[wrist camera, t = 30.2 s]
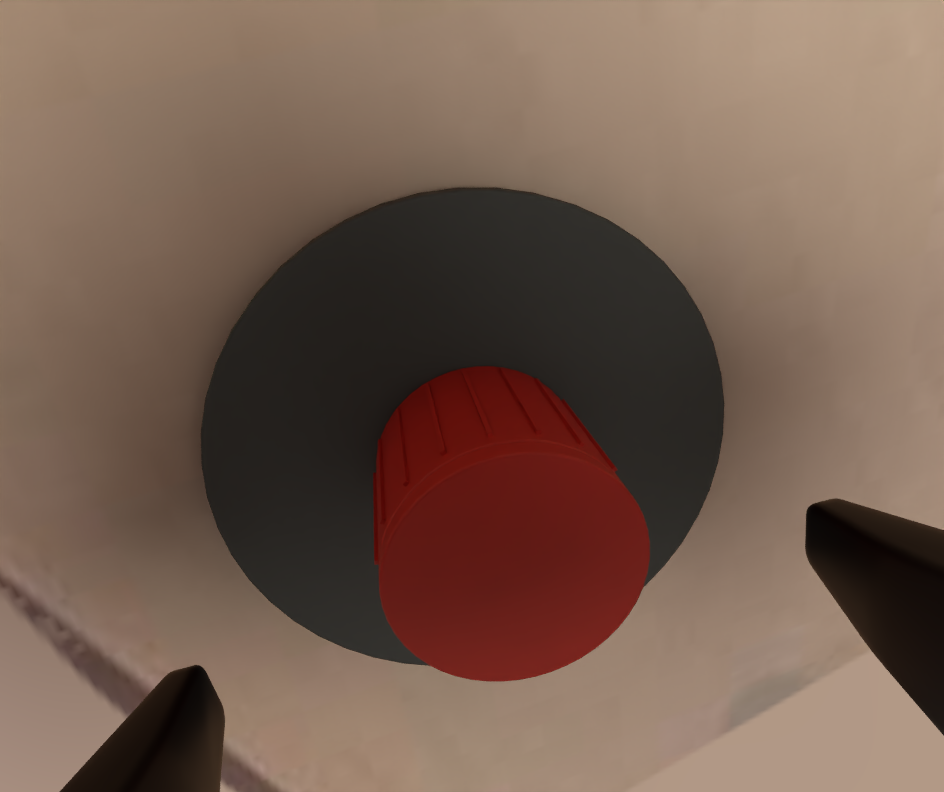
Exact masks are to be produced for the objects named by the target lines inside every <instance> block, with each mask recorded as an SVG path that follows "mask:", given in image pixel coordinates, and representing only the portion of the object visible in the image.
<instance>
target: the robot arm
mask: <svg viewBox="0 0 944 792" xmlns="http://www.w3.org/2000/svg"><path fill="white" fill-rule="evenodd" d="M805 549H806V555H807V558H808V561H809V563H810V564H811V566H812V568H813V569H814V571H815V572H816V573H817V575H818V576H819V578H820V579H821V580H822V582H823V583H824V585H825V586H826V588H827V589H828V590H829V592H830V593H831V595H832V596H833V597H834V599H835V600H836V602H837V603H838V605H839V606H840V607H841V609H842V610H843V612H844V613H845V614H846V616H847V617H848V619H849V620H850V622H851V623H852V624H853V626H854V627H855V629H856V630H857V631H858V633H859V634H860V636H861V637H862V639H863V640H864V641H865V643H866V644H867V645H868V647H869V648H870V649H871V651H872V652H873V653H874V654H875V656H876V657H877V658H878V659H879V660H880V662H881V663H882V664H883V665H884V667H885V668H886V669H887V670H888V671H889V672H890V674H891V675H892V676H893V677H894V678H895V679H896V680H897V682H898V683H899V684H900V685H901V686H902V688H903V689H904V690H905V691H906V692H907V693H908V694H909V696H910V697H911V698H912V699H913V700H914V701H915V703H916V704H917V705H918V706H919V707H920V708H921V710H922V711H923V712H924V713H925V714H926V715H927V717H928V718H929V719H930V720H931V721H932V722H933V724H934V725H935V726H936V727H937V728H938V729H939V730H940V732H941V733H942V734H943V735H944V530H941V529H938V528H934V527H931V526H928V525H924V524H921V523H918V522H914V521H911V520H908V519H904V518H901V517H898V516H894V515H891V514H888V513H884V512H881V511H878V510H875V509H871V508H868V507H865V506H861V505H858V504H855V503H851V502H848V501H845V500H841V499H829V500H826V501H822V502H818V503H814V504H812V505H810V506H809V507H808V509H807V513H806V541H805ZM224 728H225V715H224V709H223V706H222V703H221V701H220V699H219V697H218V695H217V693H216V691H215V689H214V687H213V685H212V683H211V681H210V679H209V677H208V675H207V673H206V671H205V670H204V668H203V667H201V666H199V665H194V666H190V667H186V668H182V669H178V670H175V671H172V672H170V673H169V674H167V675H166V676H165V677H164V678H163V679H162V680H161V682H160V683H159V684H158V685H157V686H156V687H155V688H154V689H153V690H152V691H151V692H150V694H149V695H148V696H147V697H146V698H145V699H144V700H143V701H142V702H141V703H140V704H139V706H138V707H137V708H136V709H135V710H134V711H133V712H132V713H131V714H130V715H129V717H128V718H127V719H126V720H125V721H124V722H123V723H122V724H121V725H120V726H119V728H118V729H117V730H116V731H115V732H114V733H113V734H112V735H111V736H110V737H109V738H108V739H107V741H106V742H105V743H104V744H103V745H102V746H101V747H100V748H99V749H98V751H96V753H95V754H94V755H93V756H92V757H91V758H90V759H89V760H88V761H87V762H86V764H85V765H84V766H83V767H82V768H81V769H80V770H79V771H78V772H77V773H76V774H75V775H74V777H73V778H72V779H71V780H70V781H69V782H68V783H67V784H66V785H65V787H64V788H63V789H62V790H61V791H60V792H220V780H221V767H222V754H223V741H224Z"/></svg>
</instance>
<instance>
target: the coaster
mask: <svg viewBox="0 0 944 792" xmlns="http://www.w3.org/2000/svg"><path fill="white" fill-rule="evenodd" d="M476 366H494V367H503V368H508V369H512V370H516V371H519V372H522V373H524V374H527V375H529V376H531V377H533V378H537V379H539V380H540V382H542V383H543V384H544V385H546V386H547V387H548V388H550V389H551V390H552V391H553V392H554V393H555V394H556V395H557V396H558V397H559V398H560V400H562V399H564V400H565V401H566V403H567V404H568V405H569V406H570V408H571V409H572V410H573V412H574V413H575V414H576V416H577V417H578V418H579V420H580V421H581V422H582V424H583V425H584V426H585V427H586V429H587V430H588V431H589V433H590V434H591V435H592V437H593V438H594V439H595V441H596V442H597V443H598V444H599V446H600V447H601V448H602V450H603V451H604V452H605V454H606V455H607V456H608V458H609V459H610V460H611V461H612V463H613V464H614V465H615V467H616V468H617V469H618V470H617V471H616V472H615V473H616V475H617V476H618V477H619V479H620V480H621V481H622V483H623V484H624V485H625V487H626V488H627V489H628V491H629V492H630V493H631V495H632V496H633V497H634V499H635V500H636V502H637V503H638V505H639V507H640V509H641V511H642V513H643V515H644V519H645V522H646V525H647V528H648V534H649V541H650V560H649V567H648V573H647V576H646V580H645V583H644V586H645V585H646V584H647V583H648V582H649V581H650V580H651V579H652V578H653V577H654V576H655V575H656V574H657V573H658V572H659V571H660V570H661V568H662V567H663V566H664V565H665V564H666V563H667V562H668V560H669V559H670V558H671V556H672V555H673V554H674V552H675V551H676V550H677V548H678V547H679V546H680V544H681V543H682V542H683V540H684V539H685V537H686V535H687V533H688V532H689V530H690V528H691V527H692V525H693V523H694V522H695V520H696V518H697V517H698V515H699V512H700V510H701V508H702V506H703V503H704V501H705V499H706V497H707V494H708V492H709V490H710V487H711V483H712V480H713V477H714V474H715V470H716V467H717V464H718V459H719V454H720V448H721V442H722V436H723V421H724V397H723V388H722V378H721V372H720V368H719V364H718V360H717V356H716V352H715V348H714V344H713V341H712V339H711V336H710V334H709V331H708V329H707V327H706V324H705V322H704V319H703V317H702V315H701V313H700V311H699V309H698V308H697V306H696V305H695V303H694V301H693V300H692V298H691V296H690V295H689V293H688V291H687V290H686V288H685V287H684V285H683V284H682V283H681V282H680V281H679V279H678V278H677V277H676V276H675V275H674V273H673V272H672V271H671V270H670V269H669V267H668V266H667V265H666V264H665V263H664V261H662V260H661V259H660V258H659V257H658V256H657V255H656V254H655V253H653V252H652V251H651V250H650V249H649V248H648V247H647V246H645V245H644V244H643V243H642V242H641V241H640V240H639V239H637V238H636V237H634V236H633V235H631V234H630V233H628V232H626V231H625V230H623V229H622V228H620V227H619V226H617V225H616V224H614V223H613V222H611V221H609V220H608V219H605V218H603V217H601V216H599V215H597V214H594V213H592V212H590V211H588V210H585V209H583V208H581V207H579V206H577V205H574V204H571V203H567V202H564V201H560V200H557V199H553V198H550V197H546V196H543V195H539V194H536V193H532V192H525V191H517V190H510V189H503V188H451V189H444V190H437V191H430V192H423V193H418V194H414V195H411V196H407V197H404V198H400V199H397V200H393V201H390V202H386V203H383V204H380V205H377V206H375V207H373V208H371V209H368V210H366V211H364V212H362V213H359V214H357V215H355V216H353V217H350V218H348V219H346V220H344V221H342V222H341V223H339V224H338V225H336V226H334V227H333V228H331V229H329V230H328V231H326V232H325V233H323V234H321V235H320V236H318V237H317V238H315V239H313V240H312V241H310V242H309V243H308V244H307V245H306V246H304V247H303V248H302V249H301V250H300V251H298V252H297V253H296V254H295V255H294V256H292V257H291V258H290V259H289V260H288V261H287V262H285V263H284V264H283V265H282V266H281V267H280V268H279V269H278V270H277V271H276V272H275V274H274V275H273V276H272V277H271V278H270V279H269V280H268V281H267V282H266V284H265V285H264V286H263V287H262V288H261V289H260V290H259V291H258V292H257V294H256V295H255V296H254V298H253V299H252V300H251V302H250V303H249V305H248V306H247V308H246V309H245V311H244V312H243V314H242V315H241V317H240V318H239V320H238V321H237V323H236V324H235V326H234V327H233V329H232V330H231V332H230V335H229V337H228V339H227V341H226V343H225V345H224V347H223V349H222V352H221V354H220V356H219V358H218V360H217V362H216V365H215V368H214V371H213V375H212V378H211V381H210V385H209V388H208V392H207V395H206V399H205V406H204V413H203V421H202V428H201V459H202V470H203V476H204V482H205V487H206V493H207V498H208V501H209V504H210V507H211V510H212V513H213V516H214V519H215V521H216V524H217V527H218V529H219V531H220V533H221V535H222V537H223V539H224V541H225V543H226V545H227V547H228V549H229V551H230V553H231V555H232V556H233V558H234V559H235V560H236V562H237V563H238V565H239V566H240V567H241V569H242V570H243V572H244V573H245V574H246V576H247V577H248V579H249V580H250V581H251V582H252V583H253V584H254V585H255V586H256V587H257V588H258V589H259V591H260V592H261V593H262V594H263V595H264V596H265V597H266V598H267V599H268V600H269V601H270V602H271V603H272V604H274V605H275V606H276V607H277V608H279V609H280V610H281V611H282V612H283V613H285V614H286V615H287V616H288V617H290V618H291V619H292V620H293V621H295V622H297V623H298V624H300V625H302V626H303V627H305V628H306V629H308V630H310V631H311V632H313V633H315V634H316V635H318V636H320V637H322V638H324V639H326V640H329V641H331V642H333V643H335V644H337V645H340V646H342V647H344V648H346V649H349V650H353V651H356V652H359V653H362V654H365V655H368V656H371V657H375V658H380V659H384V660H389V661H394V662H399V663H406V664H417V665H428V664H427V663H425V662H424V661H422V660H421V659H419V658H418V657H416V656H415V655H414V654H413V653H412V652H411V651H410V650H408V649H407V648H406V647H405V646H404V645H403V643H402V642H401V641H400V640H399V638H398V637H397V636H396V635H395V633H394V632H393V630H392V628H391V626H390V625H389V623H388V621H387V619H386V616H385V613H384V611H383V608H382V604H381V599H380V594H379V564H378V565H375V564H374V504H373V473H376V458H377V450H378V439H380V438H381V435H382V433H383V431H384V428H385V426H386V424H387V422H388V421H389V419H390V417H391V416H392V414H393V413H394V411H395V410H396V408H397V407H398V406H399V405H400V404H401V403H402V402H403V401H404V400H405V399H406V398H407V397H408V396H409V395H410V394H411V393H412V392H414V391H415V390H416V389H418V388H419V387H420V386H422V385H423V384H425V383H427V382H428V381H430V380H432V379H434V378H436V377H438V376H441V375H443V374H445V373H448V372H451V371H455V370H459V369H462V368H469V367H476ZM644 586H643V587H644ZM428 666H430V665H428Z"/></svg>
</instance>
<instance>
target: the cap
mask: <svg viewBox="0 0 944 792" xmlns="http://www.w3.org/2000/svg"><path fill="white" fill-rule="evenodd" d="M617 470H618V469H617V468H616V467H615V465H614V464H613V463H612V461H611V460H610V459H609V458H608V456H607V455H606V454H605V452H604V451H603V450H602V448H601V447H600V446H599V444H598V443H597V442H596V441H595V439H594V438H593V437H592V435H591V434H590V433H589V431H588V430H587V429H586V427H585V426H584V425H583V424H582V422H581V421H580V420H579V418H578V417H577V416H576V414H575V413H574V412H573V410H572V409H571V408H570V406H569V405H568V404H567V403H566V401H565V400H564V399H562V400H560V398H559V397H558V396H557V395H556V394H555V393H554V392H553V391H552V390H551V389H550V388H548V387H547V386H546V385H544V384H543V383H542V382H540V380H539V379H537V378H533V377H531V376H529V375H527V374H524V373H522V372H519V371H516V370H512V369H508V368H503V367H494V366H476V367H469V368H462V369H459V370H455V371H451V372H448V373H445V374H443V375H441V376H438V377H436V378H434V379H432V380H430V381H428V382H427V383H425V384H423V385H422V386H420V387H419V388H418V389H416V390H415V391H414V392H412V393H411V394H410V395H409V396H408V397H407V398H406V399H405V400H404V401H403V402H402V403H401V404H400V405H399V406H398V407H397V408H396V410H395V411H394V413H393V414H392V416H391V417H390V419H389V421H388V422H387V424H386V426H385V428H384V431H383V433H382V435H381V438H380V439H378V450H377V458H376V473H373V504H374V564H375V565H378V564H379V594H380V599H381V604H382V608H383V611H384V613H385V616H386V619H387V621H388V623H389V625H390V626H391V628H392V630H393V632H394V633H395V635H396V636H397V637H398V638H399V640H400V641H401V642H402V643H403V645H404V646H405V647H406V648H407V649H408V650H410V651H411V652H412V653H413V654H414V655H415V656H416V657H418V658H419V659H421V660H422V661H424V662H425V663H427V664H428V665H430V666H432V667H434V668H436V669H438V670H440V671H443V672H445V673H448V674H451V675H454V676H457V677H462V678H466V679H471V680H480V681H512V680H521V679H526V678H531V677H536V676H539V675H542V674H546V673H549V672H552V671H554V670H557V669H559V668H562V667H564V666H567V665H569V664H570V663H572V662H574V661H576V660H578V659H580V658H582V657H583V656H585V655H586V654H588V653H589V652H591V651H592V650H594V649H595V648H596V647H598V646H599V645H600V644H601V643H603V642H604V641H605V640H606V639H607V638H608V637H609V636H610V635H611V634H612V633H613V632H614V631H615V630H616V629H617V628H618V627H619V626H620V625H621V624H622V622H623V621H624V620H625V619H626V617H627V616H628V615H629V613H630V612H631V610H632V608H633V607H634V605H635V603H636V602H637V600H638V598H639V595H640V593H641V591H642V589H643V586H644V583H645V580H646V576H647V573H648V567H649V560H650V541H649V534H648V528H647V525H646V522H645V519H644V515H643V513H642V511H641V509H640V507H639V505H638V503H637V502H636V500H635V499H634V497H633V496H632V495H631V493H630V492H629V491H628V489H627V488H626V487H625V485H624V484H623V483H622V481H621V480H620V479H619V477H618V476H617V475H616V473H615V472H616V471H617Z"/></svg>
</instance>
